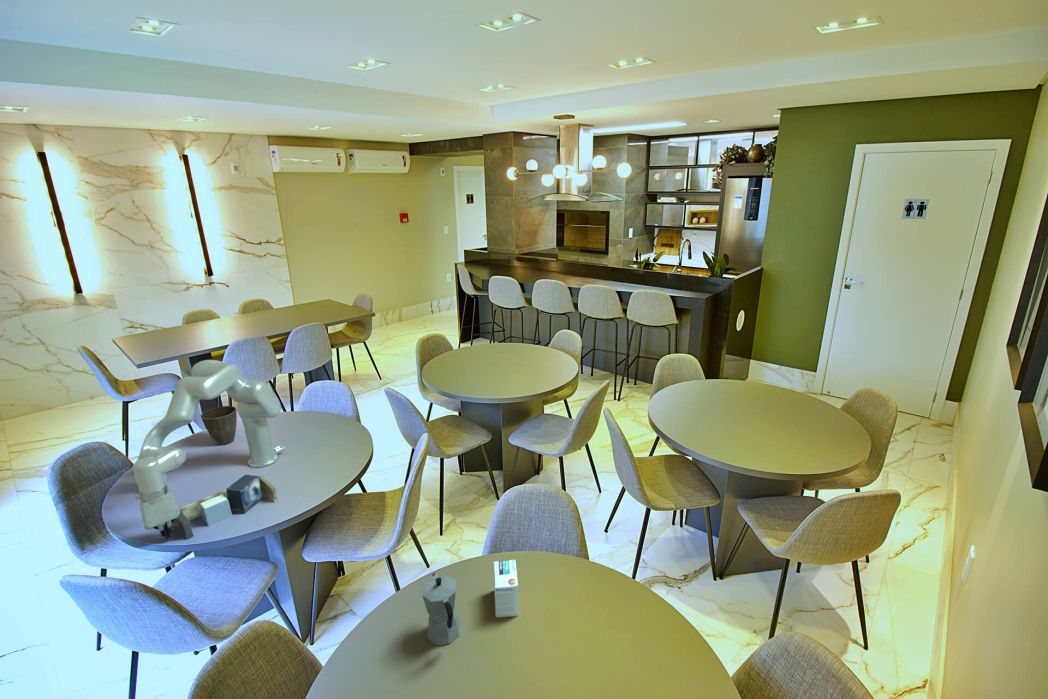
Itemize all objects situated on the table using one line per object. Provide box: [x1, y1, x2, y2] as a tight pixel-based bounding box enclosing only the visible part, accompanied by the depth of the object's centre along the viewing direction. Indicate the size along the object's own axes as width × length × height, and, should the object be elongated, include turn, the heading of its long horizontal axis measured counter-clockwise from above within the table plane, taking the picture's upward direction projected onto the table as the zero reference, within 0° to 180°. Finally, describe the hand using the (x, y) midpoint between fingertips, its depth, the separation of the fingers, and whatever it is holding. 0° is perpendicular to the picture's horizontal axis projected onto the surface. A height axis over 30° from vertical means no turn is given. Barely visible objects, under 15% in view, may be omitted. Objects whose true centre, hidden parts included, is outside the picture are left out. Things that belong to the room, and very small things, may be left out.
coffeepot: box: [421, 572, 460, 646], centre depth 134 cm, size 15×9×18 cm, turn 28°
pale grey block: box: [200, 494, 233, 527], centre depth 187 cm, size 8×6×8 cm
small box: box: [225, 474, 264, 515], centre depth 194 cm, size 11×6×10 cm, turn 168°
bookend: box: [177, 511, 194, 540], centre depth 180 cm, size 2×10×6 cm, turn 47°
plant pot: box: [200, 405, 238, 446], centre depth 244 cm, size 15×15×16 cm
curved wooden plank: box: [172, 474, 278, 528], centre depth 190 cm, size 32×14×6 cm, turn 138°
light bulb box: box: [493, 559, 519, 618], centre depth 145 cm, size 11×7×11 cm, turn 5°
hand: (167, 536), depth 177 cm, fingers closed
